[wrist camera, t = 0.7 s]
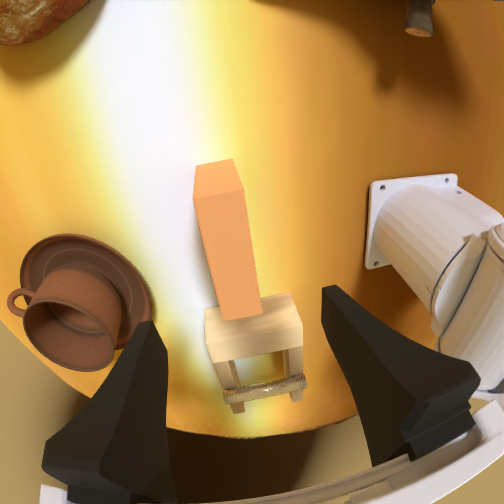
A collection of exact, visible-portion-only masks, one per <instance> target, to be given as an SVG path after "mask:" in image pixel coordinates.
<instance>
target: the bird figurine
mask: <svg viewBox="0 0 504 504" xmlns="http://www.w3.org/2000/svg"><path fill="white" fill-rule="evenodd" d="M495 1H504V0H495ZM434 3H435V0H406V9H405V15H406V19H405V31H406V32H407V33H409V34H411V35H415V36H419V37H432V36H433V25H432V12H433V10H432V5H433V4H434Z"/></svg>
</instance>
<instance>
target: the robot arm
mask: <svg viewBox="0 0 504 504" xmlns="http://www.w3.org/2000/svg"><path fill="white" fill-rule="evenodd" d="M445 179H446V181H445ZM382 185H383V188H382V189H380V187H381V186H382ZM375 262H376V263H375ZM374 263H375V264H374ZM390 264H391V265H392V266H393V267H394V268H395V270H396V271H397V272H398V273H399V274H400V276H401V277H402V278H403V279H404V280H405V282H406V283H407V284H408V285H409V286H410V288H411V289H412V290H413V291H414V293H415V294H416V295H417V296H418V298H419V299H420V300H421V301H422V303H423V304H424V305H425V306H426V308H427V309H428V310H429V311H430V313H431V314H432V315H433V321H432V323H431V326H430V327H431V329H432V330H433V331H434V333H435V334H436V335H437V337H438V339H437V341H436V343H435V347H434V350H432V349H429V348H427V347H425V346H423V345H421V344H419V343H417V342H414V341H413V340H411V339H409V338H407V337H405V336H403V335H402V334H400V333H398V332H397V331H395V330H393V329H392V328H390V327H389V326H387V325H386V324H384V323H383V322H382V321H380V320H379V319H377V318H376V317H375V316H373V315H372V314H371V313H370V312H368V311H367V310H366V309H364V308H363V307H362V306H361V305H359V304H358V303H357V302H356V301H355V300H353V299H352V298H351V297H350V296H349V295H348V294H346V293H345V292H344V291H343V290H342V289H341V288H339V287H338V286H337V285H331V286H327V287H323V288H322V312H321V323H322V326H323V329H324V332H325V334H326V337H327V340H328V343H329V345H330V347H331V349H332V351H333V353H334V355H335V357H336V359H337V361H338V363H339V365H340V367H341V369H342V371H343V373H344V375H345V377H346V380H347V382H348V384H349V386H350V389H351V392H352V394H353V397H354V400H355V403H356V406H357V409H358V413H359V416H360V419H361V422H362V426H363V430H364V433H365V437H366V441H367V445H368V449H369V453H370V458H371V462H372V467H373V468H370V469H368V470H365V471H362V472H359V473H356V474H353V475H350V476H347V477H344V478H341V479H338V480H335V481H331V482H328V483H324V484H321V485H317V486H313V487H309V488H305V489H301V490H297V491H292V492H288V493H283V494H277V495H272V496H266V497H260V498H253V499H246V500H238V501H229V502H219V503H204V504H317V503H320V502H324V501H328V500H331V499H335V498H338V497H341V496H344V495H347V494H350V493H353V492H356V491H359V490H362V489H365V488H367V487H370V486H372V487H370V488H368V489H366V490H363V491H361V492H358V493H356V494H354V495H351V497H350V500H348V501H346V502H345V503H344V504H432V503H433V502H435V501H437V500H439V499H440V498H442V497H444V496H445V495H447V494H448V493H450V492H452V491H453V490H455V489H456V488H458V487H460V486H461V485H463V484H464V483H466V482H467V481H469V480H470V479H471V478H473V477H474V476H476V475H477V474H478V473H480V472H481V471H483V470H484V469H485V468H486V467H488V466H489V465H490V464H492V463H493V462H494V461H496V460H497V459H498V458H499V457H501V456H502V455H503V454H504V412H503V411H504V218H503V217H502V216H501V215H500V214H499V213H498V212H497V211H496V210H494V209H493V208H491V207H490V206H488V205H487V204H485V203H484V202H482V201H481V200H479V199H477V198H476V197H474V196H473V195H471V194H470V193H468V192H466V191H465V190H463V189H461V188H460V187H458V186H457V175H455V174H453V173H451V174H439V175H428V176H418V177H408V178H399V179H390V180H381V181H374V182H373V183H371V185H370V190H369V213H368V229H367V243H366V254H365V267H366V268H367V269H374V268H378V267H382V266H386V265H390ZM167 388H168V353H167V349H166V347H165V345H164V343H163V341H162V339H161V337H160V335H159V333H158V331H157V329H156V327H155V325H154V323H153V321H152V320H150V321H143V322H139V323H138V325H137V326H136V328H135V330H134V332H133V333H132V335H131V337H130V339H129V341H128V342H127V344H126V346H125V348H124V350H123V351H122V353H121V355H120V356H119V358H118V360H117V362H116V363H115V365H114V367H113V368H112V370H111V371H110V373H109V374H108V376H107V378H106V379H105V381H104V382H103V383H102V385H101V386H100V388H99V389H98V390H97V392H96V393H95V394H94V396H93V397H92V398H91V399H90V400H89V401H88V403H87V404H86V405H85V406H84V407H83V408H82V410H81V411H80V412H79V413H78V414H77V415H76V416H75V417H74V418H73V419H72V420H71V421H70V422H69V423H68V424H66V425H65V426H64V427H63V428H62V429H61V430H60V431H58V432H57V433H56V434H55V435H54V436H52V437H51V438H50V439H48V440H47V441H46V444H45V449H44V454H43V460H42V466H41V467H42V469H43V470H44V471H45V472H46V473H47V474H49V475H50V476H52V477H54V478H56V479H58V480H59V481H61V482H63V483H65V484H67V485H68V491H67V490H64V489H61V488H57V487H53V486H49V485H45V484H42V485H41V493H40V503H39V504H176V503H177V502H178V499H177V496H176V491H175V487H174V482H173V477H172V471H171V465H170V459H169V451H168V443H167V431H166V404H167ZM470 397H472V398H478V399H482V400H485V401H488V402H489V403H487V404H486V405H484V406H483V407H481V408H480V409H478V410H477V411H476V412H475V413H473V414H472V415H471V414H470V412H469V409H470V408H471V405H470V404H469V402H468V400H469V399H470ZM378 483H379V484H378ZM375 484H377V485H375ZM373 485H374V486H373Z"/></svg>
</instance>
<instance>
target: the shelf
mask: <svg viewBox="0 0 504 504" xmlns="http://www.w3.org/2000/svg"><path fill="white" fill-rule="evenodd" d="M260 300H261V307H262V314H259V315H254V316H249V317H244V318H238V319H233V320H228V321H224V320H223V316H222V313H221V309H220V306H217V307H212V308H206V309H204V314H205V336H206V346H207V348H208V351H209V354H210V356H211V359H212V361H213V364H214V367H215V369H216V372H217V374H218V377H219V379H220V382H221V384H222V387H223V389H224V390H223V395H224V400H225V403H226V404H230V406H231V408H232V411H233V413H234V414H236V413H242V412H245V409H244V403H243V401H249V400H254V399H260V398H265V397H270V396H275V395H279V394H284V393H288V392H289V394H290V397H291V401H292V402H296V401H300V400H303V389H305V388H307V383H306V378H305V375H304V374H303V325H302V322H301V320H300V317H299V315H298V312H297V309H296V307H295V304H294V302H293V299H292V296H291V294H290V292H289V293H284V294H279V295H274V296H269V297H264V298H260ZM281 350H282V358H283V368H284V375H285V378H283V379H279V380H274V381H269V382H264V383H259V384H254V385H249V386H243V387H241V384H240V380H239V376H238V373H237V370H236V367H235V363H234V360H235V359H241V358H246V357H251V356H257V355H262V354H267V353H271V352H276V351H281Z"/></svg>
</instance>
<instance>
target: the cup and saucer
mask: <svg viewBox="0 0 504 504" xmlns="http://www.w3.org/2000/svg"><path fill="white" fill-rule="evenodd" d="M20 285H21V288H19V289H16V290H14V291H13V292H12V293H11V294H10V295H9V296H8V299H7V306H8V308H9V310H10V311H11V312H12V313H13V314H15V315H17V316H19V317H23V326H24V330H25V332H26V335H27V337H28V338H29V340H30V342H31V343H32V344H33V346H34V347H35V348H36V349H37V350H38V351H39V352H40V353H41V354H42V355H44V356H45V357H46V358H48V359H49V360H51V361H52V362H54V363H56V364H58V365H60V366H62V367H65V368H68V369H71V370H75V371H81V372H92V371H98V370H101V369H103V368H105V367H106V366H108V365H109V364H110V362H111V361H112V359H113V356H114V351H115V350H119V349H122V348H125V346H126V344H127V342H128V341H129V339H130V337H131V335H132V333H133V332H134V330H135V328H136V326H137V325H138V323H139V322H143V321H150V320H151V317H152V304H151V298H150V294H149V291H148V288H147V286H146V284H145V282H144V280H143V278H142V276H141V275H140V273H139V272H138V271H137V269H136V268H135V267H134V266H133V265H132V264H131V262H130V261H129V260H127V259H126V258H125V257H124V256H123V255H122V254H121V253H119V252H118V251H117V250H115V249H114V248H112V247H110V246H109V245H107V244H105V243H103V242H101V241H99V240H96V239H94V238H91V237H87V236H84V235H78V234H58V235H53V236H50V237H47V238H45V239H43V240H41V241H39V242H38V243H37V244H35V245H34V246H33V247H32V248H31V249H30V250H29V251H28V252H27V254H26V255H25V257H24V259H23V262H22V265H21V269H20ZM21 295H23V296H24V299H25V301H26V303H27V305H28V307H27V309H26V310H23V309H20V308H17V307H16V306H15V304H14V300H15V299H16V298H17V297H18V296H21Z"/></svg>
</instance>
